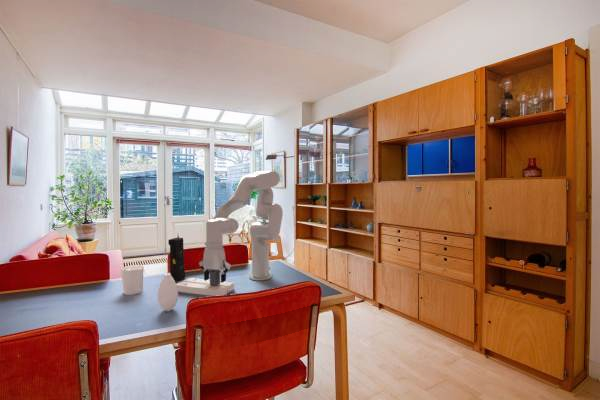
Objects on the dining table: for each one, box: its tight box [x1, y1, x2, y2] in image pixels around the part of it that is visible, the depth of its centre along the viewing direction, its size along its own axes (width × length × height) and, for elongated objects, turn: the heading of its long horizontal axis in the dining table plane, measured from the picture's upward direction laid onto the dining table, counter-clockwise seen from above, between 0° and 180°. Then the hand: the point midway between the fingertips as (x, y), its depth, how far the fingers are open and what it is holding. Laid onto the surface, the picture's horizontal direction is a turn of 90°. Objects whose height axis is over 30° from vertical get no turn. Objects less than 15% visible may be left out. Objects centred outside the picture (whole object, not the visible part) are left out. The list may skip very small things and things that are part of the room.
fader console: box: [176, 277, 235, 298], centre depth 154 cm, size 12×26×4 cm, turn 72°
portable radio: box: [167, 233, 186, 282], centre depth 173 cm, size 8×6×25 cm
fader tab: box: [209, 270, 221, 286], centre depth 152 cm, size 4×3×10 cm
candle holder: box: [120, 264, 145, 296], centre depth 153 cm, size 10×10×12 cm
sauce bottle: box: [157, 267, 179, 312], centre depth 131 cm, size 8×8×18 cm
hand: (215, 280), depth 152 cm, fingers open, 8 cm apart
